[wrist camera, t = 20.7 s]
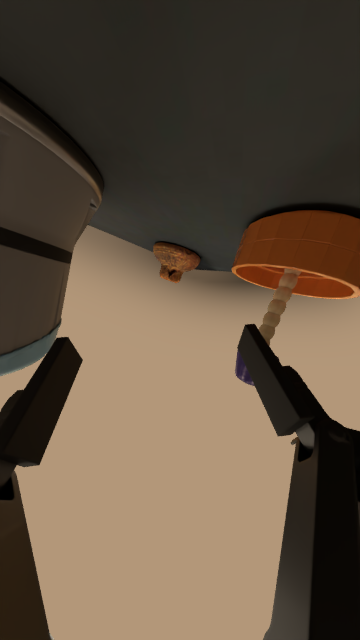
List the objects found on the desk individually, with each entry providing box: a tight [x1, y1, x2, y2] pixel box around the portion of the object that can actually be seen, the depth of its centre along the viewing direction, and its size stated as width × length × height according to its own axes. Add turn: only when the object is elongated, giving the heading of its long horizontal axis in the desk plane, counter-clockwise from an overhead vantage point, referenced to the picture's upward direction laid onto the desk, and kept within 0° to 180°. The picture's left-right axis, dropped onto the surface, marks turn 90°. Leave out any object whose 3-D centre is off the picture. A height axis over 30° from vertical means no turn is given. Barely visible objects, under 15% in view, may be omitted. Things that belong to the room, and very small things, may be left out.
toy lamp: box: [235, 268, 302, 386], centre depth 19 cm, size 5×5×17 cm
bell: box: [154, 242, 200, 283], centre depth 41 cm, size 12×12×7 cm
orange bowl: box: [232, 210, 360, 299], centre depth 19 cm, size 12×12×5 cm
